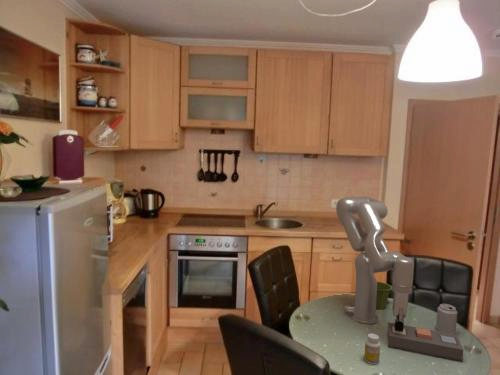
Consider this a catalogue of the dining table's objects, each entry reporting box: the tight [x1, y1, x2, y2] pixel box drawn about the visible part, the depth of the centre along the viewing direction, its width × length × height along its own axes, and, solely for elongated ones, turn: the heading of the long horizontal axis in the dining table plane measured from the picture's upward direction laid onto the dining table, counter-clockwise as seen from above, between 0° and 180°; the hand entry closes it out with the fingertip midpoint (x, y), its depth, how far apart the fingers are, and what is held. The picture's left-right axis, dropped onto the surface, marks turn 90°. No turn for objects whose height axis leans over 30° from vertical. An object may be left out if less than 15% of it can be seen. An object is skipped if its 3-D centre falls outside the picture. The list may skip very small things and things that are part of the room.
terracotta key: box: [416, 327, 431, 340], centre depth 140 cm, size 5×5×4 cm
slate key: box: [440, 335, 457, 345], centre depth 137 cm, size 5×5×4 cm
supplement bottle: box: [364, 333, 381, 365], centre depth 130 cm, size 5×5×10 cm
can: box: [435, 303, 458, 334], centre depth 152 cm, size 8×8×12 cm
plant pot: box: [376, 281, 392, 310], centre depth 177 cm, size 12×12×11 cm
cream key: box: [392, 327, 406, 335], centre depth 144 cm, size 5×5×4 cm
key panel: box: [387, 322, 464, 363], centre depth 141 cm, size 26×12×5 cm, turn 70°
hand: (398, 329), depth 144 cm, fingers closed
